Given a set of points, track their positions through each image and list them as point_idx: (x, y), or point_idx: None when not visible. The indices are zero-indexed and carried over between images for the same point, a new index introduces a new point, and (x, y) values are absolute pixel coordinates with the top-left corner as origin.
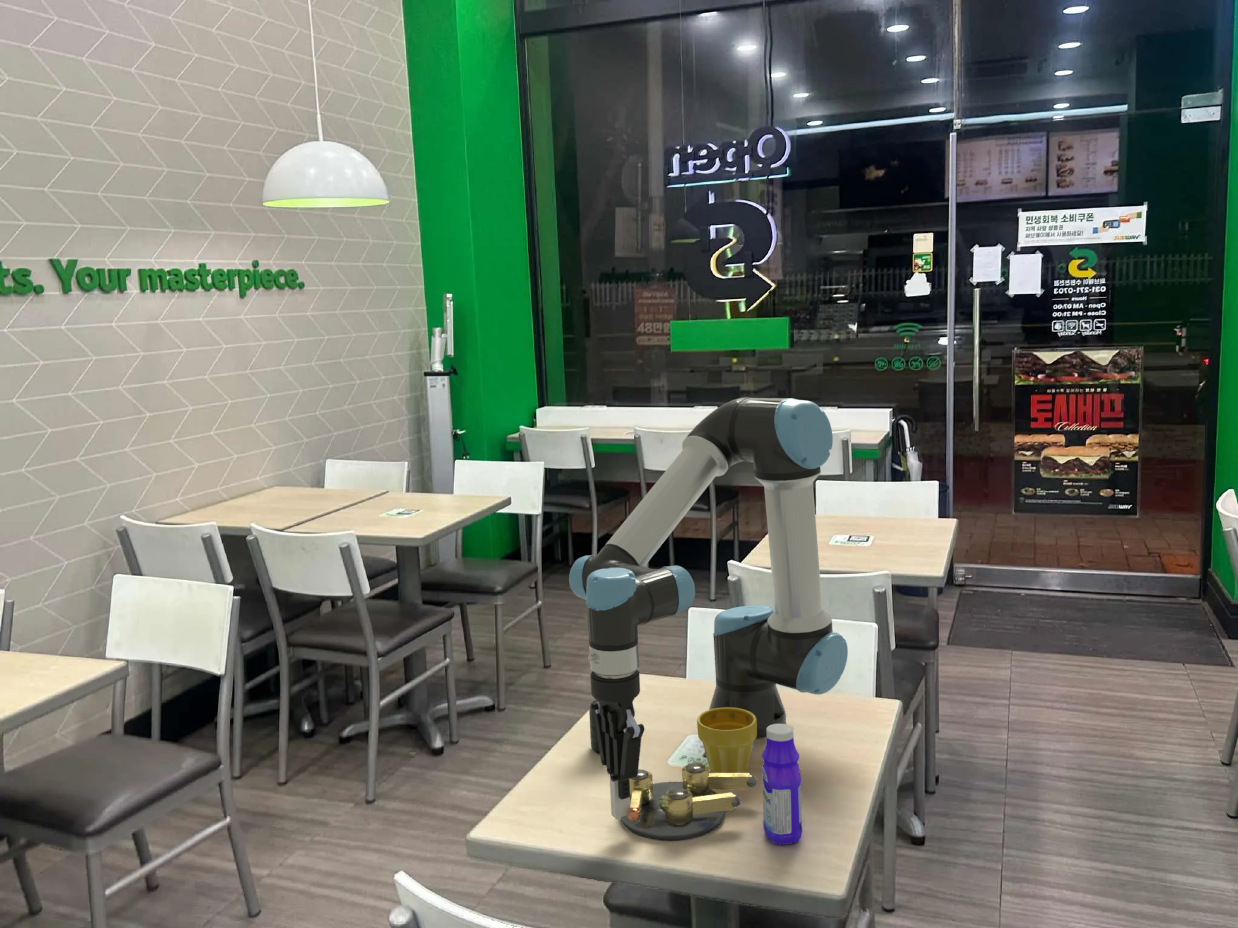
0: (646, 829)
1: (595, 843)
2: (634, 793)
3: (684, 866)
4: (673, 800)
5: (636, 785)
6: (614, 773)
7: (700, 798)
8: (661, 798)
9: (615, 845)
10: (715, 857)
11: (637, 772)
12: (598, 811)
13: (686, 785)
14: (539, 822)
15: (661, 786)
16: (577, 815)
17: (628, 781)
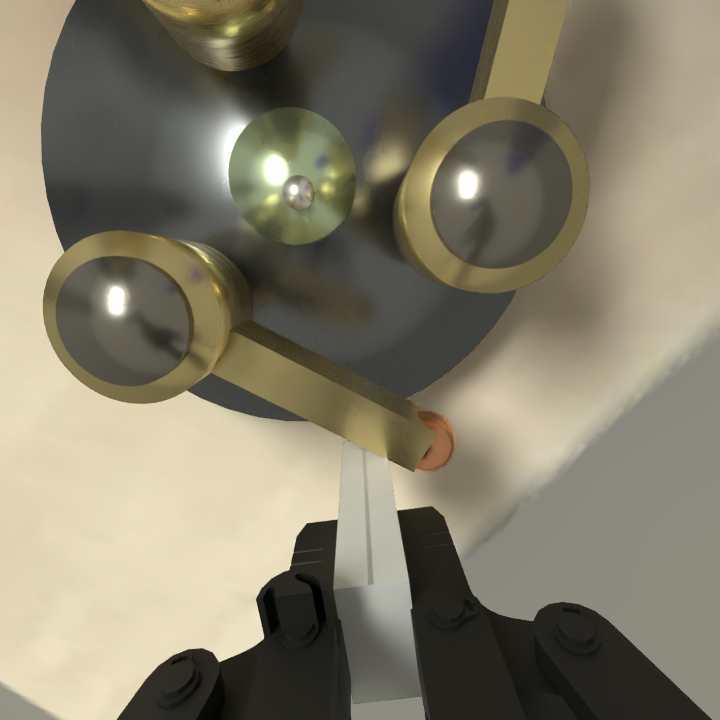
0: (441, 376)
1: None
2: (280, 394)
3: (684, 325)
4: (543, 261)
5: (214, 361)
6: (348, 677)
7: (522, 56)
8: (259, 222)
9: (425, 481)
10: (703, 187)
11: (639, 653)
12: (163, 450)
13: (242, 39)
14: (166, 638)
15: (87, 145)
16: (165, 523)
17: (468, 591)
